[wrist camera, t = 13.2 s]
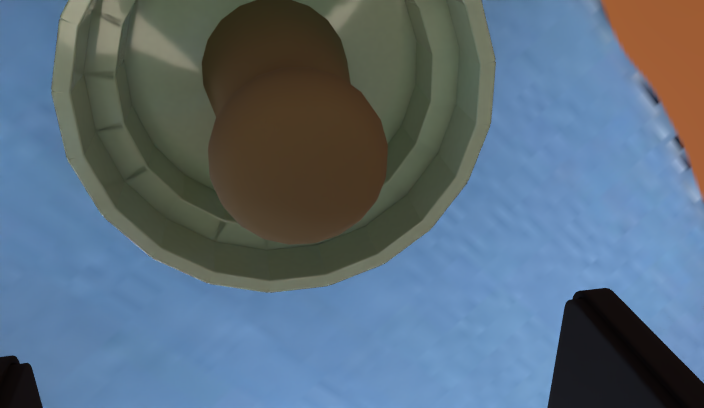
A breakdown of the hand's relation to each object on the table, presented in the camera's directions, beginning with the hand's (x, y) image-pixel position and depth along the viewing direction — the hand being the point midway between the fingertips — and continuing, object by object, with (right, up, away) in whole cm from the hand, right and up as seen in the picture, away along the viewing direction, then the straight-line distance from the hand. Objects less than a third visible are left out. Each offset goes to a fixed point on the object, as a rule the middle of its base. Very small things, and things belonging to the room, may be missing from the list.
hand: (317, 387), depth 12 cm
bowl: (-3, +9, +16) cm, 19 cm away
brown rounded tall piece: (-3, +9, +16) cm, 18 cm away
